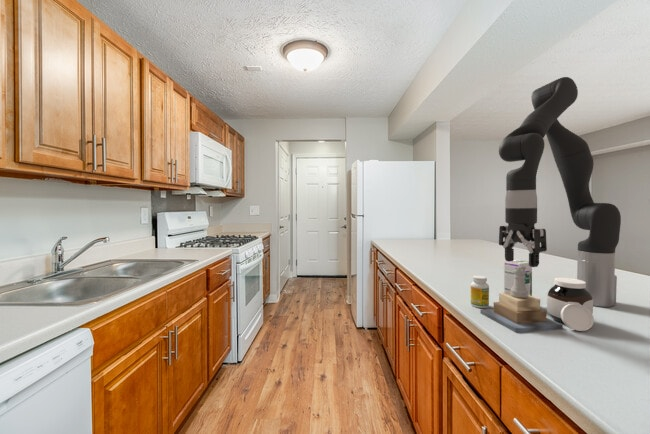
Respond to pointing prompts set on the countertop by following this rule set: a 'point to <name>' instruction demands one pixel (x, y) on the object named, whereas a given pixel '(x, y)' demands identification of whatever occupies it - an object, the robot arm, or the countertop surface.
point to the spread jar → (571, 304)
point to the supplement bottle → (479, 292)
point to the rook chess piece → (519, 284)
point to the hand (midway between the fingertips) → (520, 263)
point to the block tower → (520, 314)
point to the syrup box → (510, 274)
